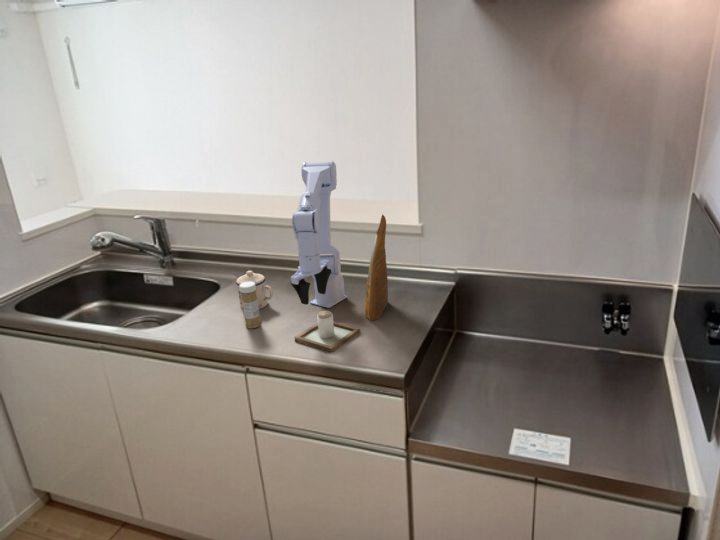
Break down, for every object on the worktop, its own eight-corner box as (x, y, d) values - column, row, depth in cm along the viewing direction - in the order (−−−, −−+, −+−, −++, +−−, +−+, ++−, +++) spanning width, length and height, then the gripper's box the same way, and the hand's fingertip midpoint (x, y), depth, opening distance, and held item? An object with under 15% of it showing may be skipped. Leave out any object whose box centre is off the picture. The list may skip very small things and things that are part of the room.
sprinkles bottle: (256, 320, 172) (250, 279, 167) (263, 325, 168) (258, 283, 163) (242, 325, 169) (236, 284, 164) (250, 330, 166) (243, 288, 161)
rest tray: (324, 322, 168) (323, 318, 167) (360, 332, 161) (359, 328, 160) (294, 341, 158) (294, 337, 158) (331, 352, 151) (331, 348, 150)
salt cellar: (324, 330, 162) (322, 309, 160) (337, 332, 160) (335, 311, 158) (315, 337, 159) (313, 315, 156) (329, 339, 156) (327, 318, 154)
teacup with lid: (234, 309, 180) (229, 275, 176) (249, 297, 188) (244, 265, 184) (267, 313, 176) (262, 278, 172) (281, 301, 184) (277, 268, 179)
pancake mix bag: (396, 297, 181) (392, 212, 171) (383, 324, 164) (378, 232, 154) (375, 296, 183) (371, 212, 173) (360, 323, 166) (354, 231, 156)
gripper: (314, 243, 164) (318, 286, 169) (280, 259, 153) (285, 305, 158) (333, 246, 160) (337, 290, 165) (300, 264, 149) (305, 310, 154)
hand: (313, 298), depth 161 cm, fingers open, 7 cm apart
